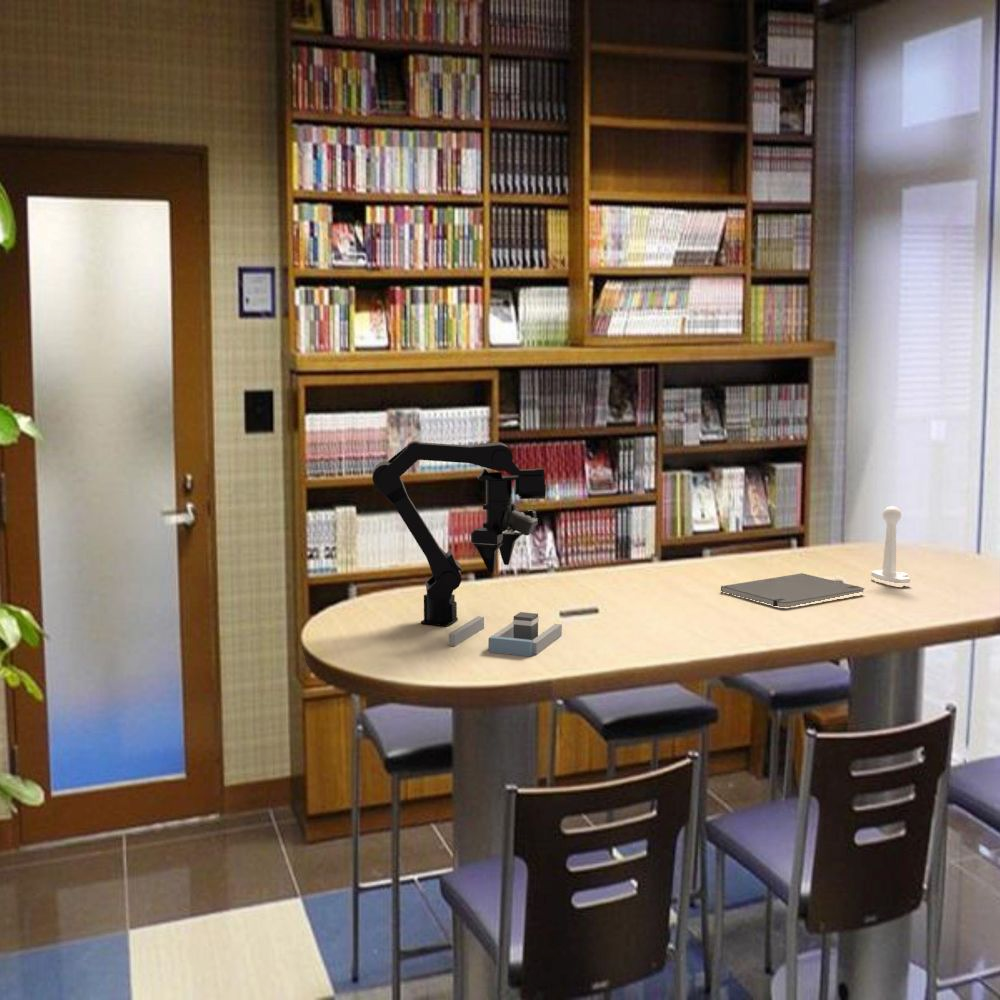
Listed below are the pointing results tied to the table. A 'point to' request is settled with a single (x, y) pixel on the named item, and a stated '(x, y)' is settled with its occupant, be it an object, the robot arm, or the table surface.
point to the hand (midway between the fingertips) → (499, 568)
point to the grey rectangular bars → (506, 638)
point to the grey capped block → (525, 626)
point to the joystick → (891, 550)
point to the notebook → (791, 590)
